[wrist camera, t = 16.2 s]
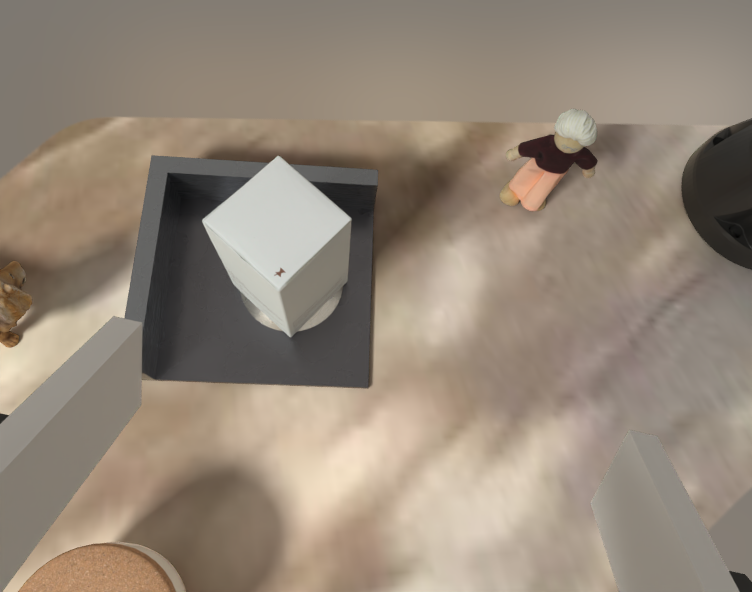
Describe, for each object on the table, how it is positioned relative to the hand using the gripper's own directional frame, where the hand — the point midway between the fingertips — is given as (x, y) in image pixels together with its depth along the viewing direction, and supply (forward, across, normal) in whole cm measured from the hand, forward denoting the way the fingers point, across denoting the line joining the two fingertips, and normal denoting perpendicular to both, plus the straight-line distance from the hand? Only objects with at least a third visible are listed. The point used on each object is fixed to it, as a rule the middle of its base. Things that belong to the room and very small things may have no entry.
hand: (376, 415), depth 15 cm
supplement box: (+32, -8, -13) cm, 36 cm away
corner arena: (+32, -10, -14) cm, 36 cm away
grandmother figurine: (+42, +12, -4) cm, 44 cm away
